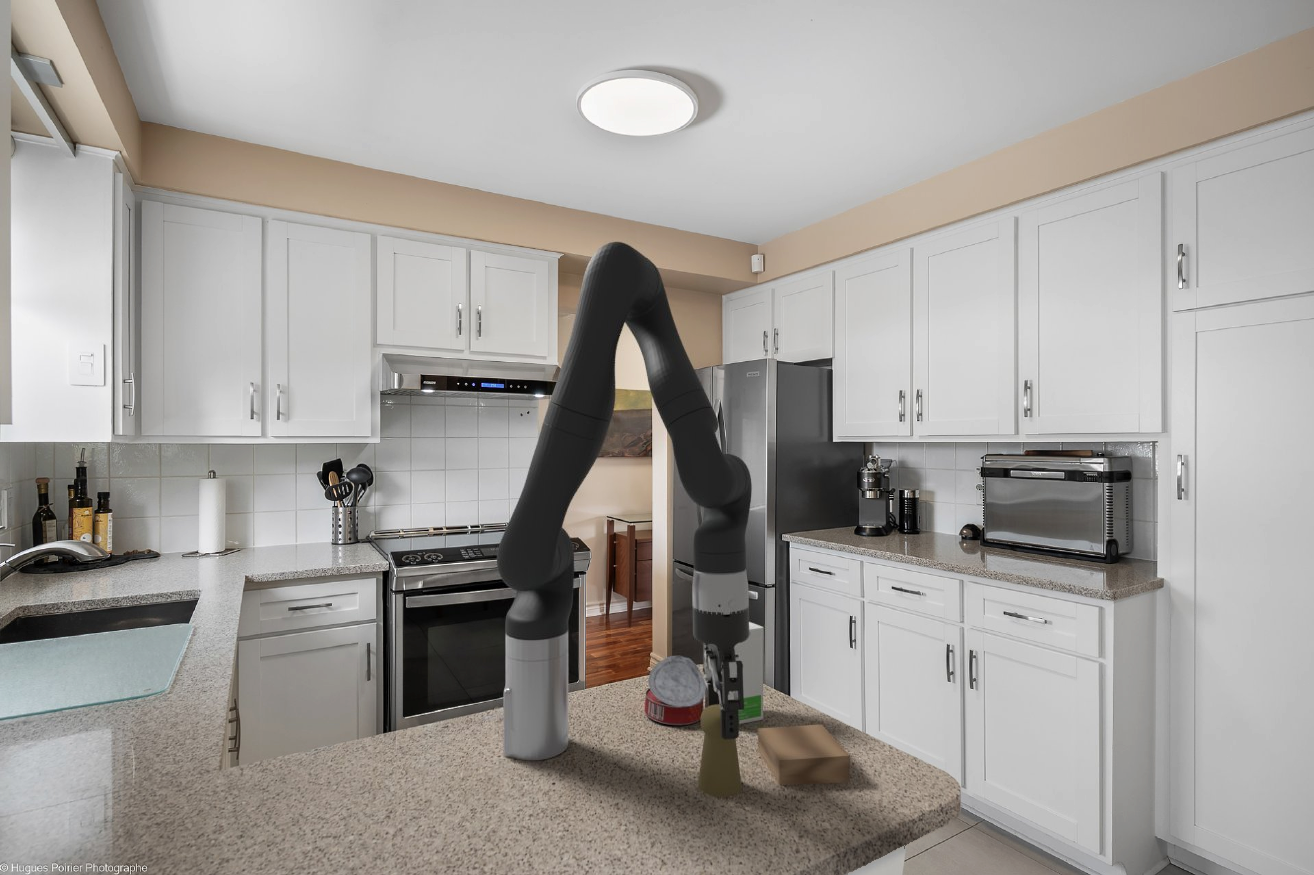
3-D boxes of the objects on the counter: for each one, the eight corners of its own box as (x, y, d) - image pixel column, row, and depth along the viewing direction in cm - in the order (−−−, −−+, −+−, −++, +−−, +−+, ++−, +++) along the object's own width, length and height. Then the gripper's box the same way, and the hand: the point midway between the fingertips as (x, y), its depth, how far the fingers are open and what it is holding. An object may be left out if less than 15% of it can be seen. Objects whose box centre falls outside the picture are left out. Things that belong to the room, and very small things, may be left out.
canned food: (698, 735, 115) (728, 689, 114) (670, 750, 107) (702, 700, 105) (651, 689, 121) (679, 645, 119) (621, 700, 112) (651, 652, 111)
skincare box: (723, 729, 108) (723, 633, 108) (702, 714, 114) (702, 622, 114) (765, 719, 112) (765, 626, 112) (743, 705, 118) (743, 617, 118)
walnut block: (779, 790, 90) (779, 760, 90) (757, 755, 100) (758, 728, 100) (849, 784, 92) (849, 755, 92) (821, 750, 101) (821, 724, 101)
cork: (740, 804, 86) (740, 719, 86) (694, 799, 87) (694, 715, 87) (744, 781, 92) (744, 701, 92) (700, 776, 93) (700, 697, 93)
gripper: (684, 592, 96) (686, 705, 96) (702, 618, 82) (705, 750, 82) (735, 590, 97) (737, 701, 97) (762, 615, 83) (764, 746, 83)
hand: (722, 723), depth 89 cm, fingers open, 8 cm apart
